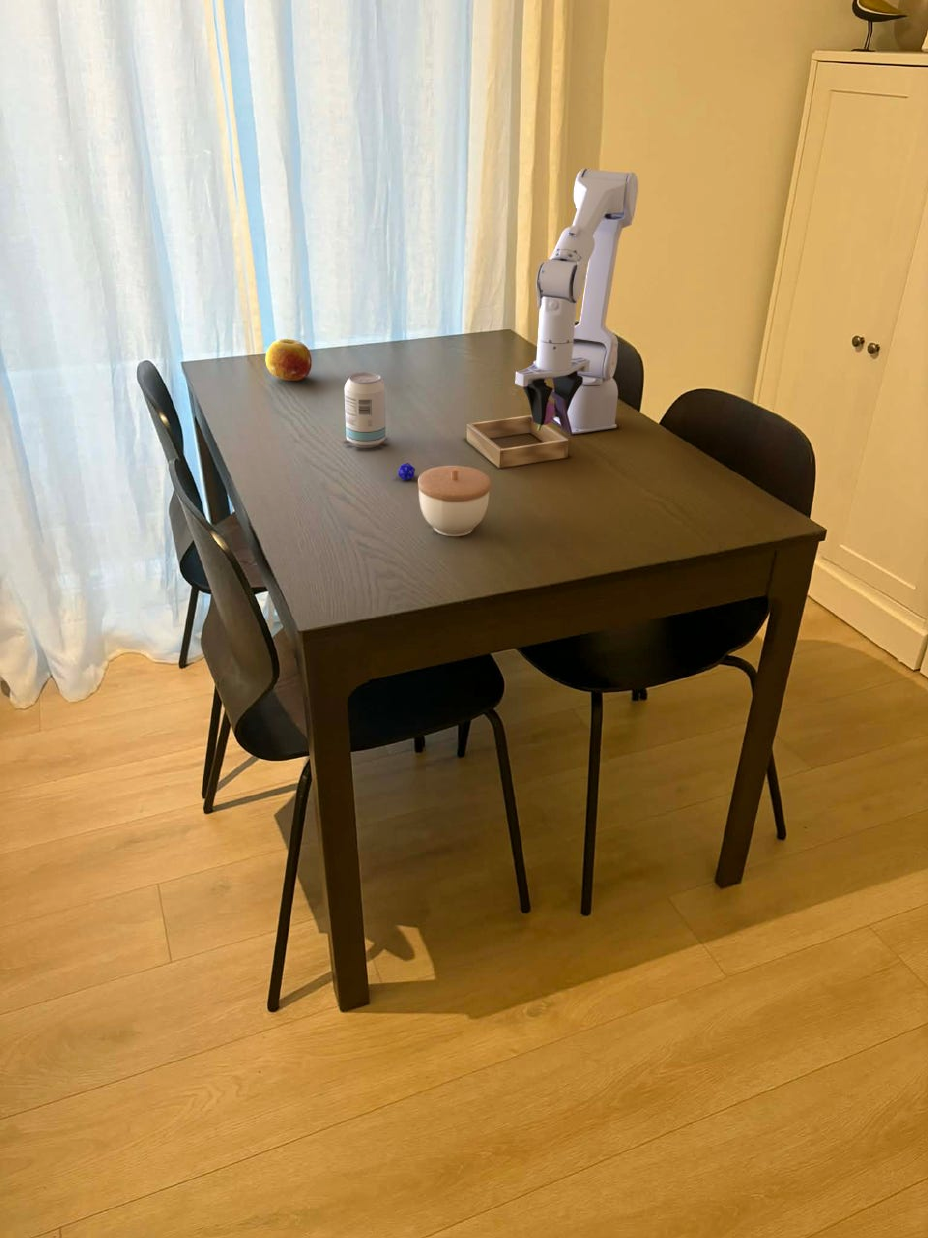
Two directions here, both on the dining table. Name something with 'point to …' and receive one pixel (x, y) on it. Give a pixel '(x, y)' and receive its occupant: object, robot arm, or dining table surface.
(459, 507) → the trinket box
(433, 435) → the dining table surface
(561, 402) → the purple monster figurine
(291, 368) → the fruit
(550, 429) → the birch box
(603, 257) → the robot arm
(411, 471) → the die
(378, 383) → the beverage can
